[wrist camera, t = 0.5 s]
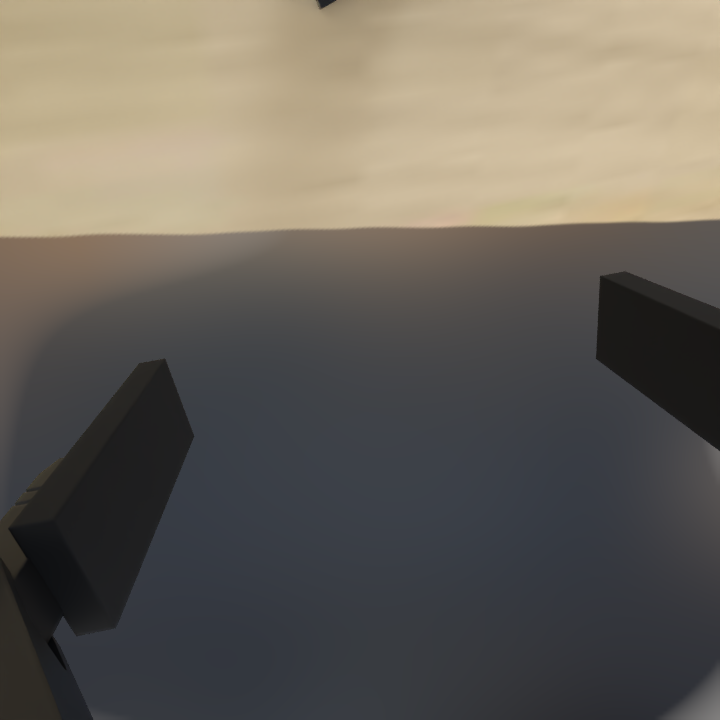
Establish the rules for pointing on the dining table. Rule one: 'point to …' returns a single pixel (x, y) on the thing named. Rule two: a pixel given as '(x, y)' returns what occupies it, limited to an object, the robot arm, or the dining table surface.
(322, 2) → the bracket
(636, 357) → the robot arm
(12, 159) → the dining table surface
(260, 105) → the dining table surface
